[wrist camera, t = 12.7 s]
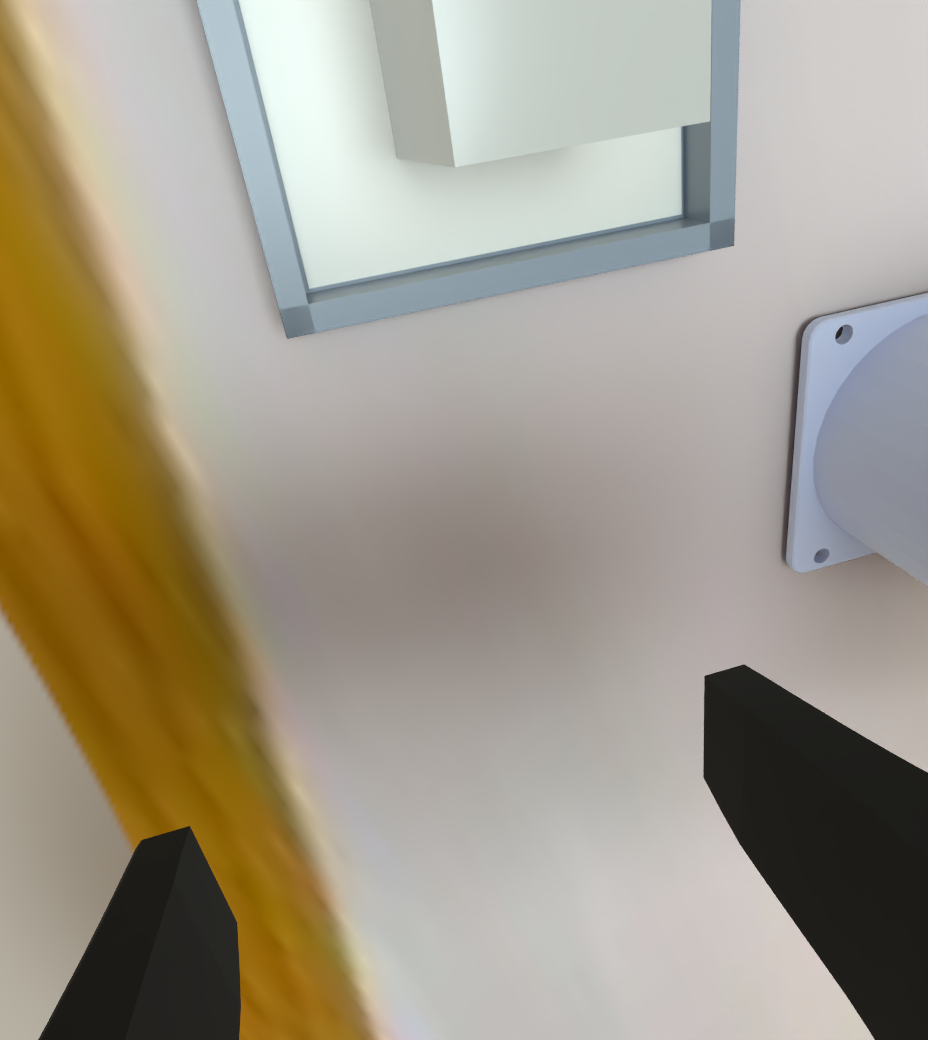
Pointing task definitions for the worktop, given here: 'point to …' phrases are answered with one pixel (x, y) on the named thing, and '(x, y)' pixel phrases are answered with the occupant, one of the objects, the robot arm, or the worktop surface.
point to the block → (538, 73)
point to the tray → (443, 177)
